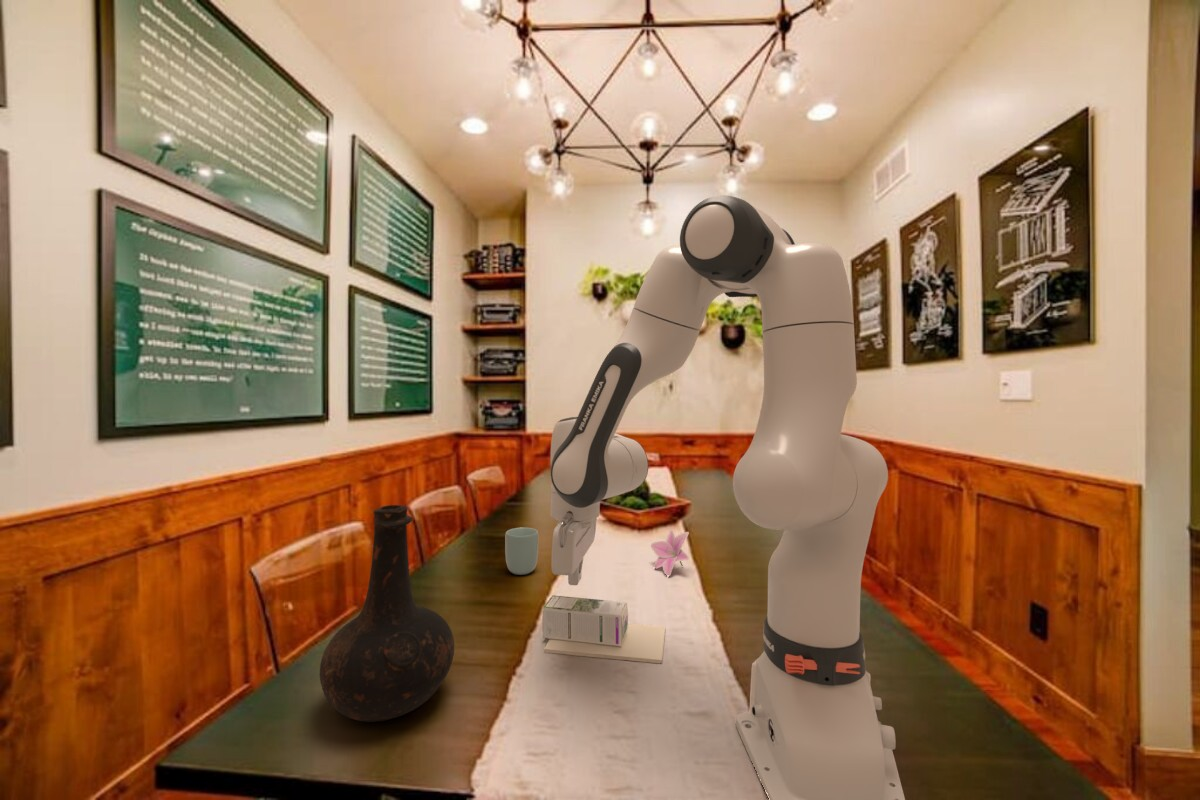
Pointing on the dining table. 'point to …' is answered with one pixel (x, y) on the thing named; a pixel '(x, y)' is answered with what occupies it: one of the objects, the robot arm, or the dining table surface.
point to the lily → (670, 551)
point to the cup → (521, 550)
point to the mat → (636, 646)
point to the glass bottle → (387, 637)
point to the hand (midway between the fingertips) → (574, 582)
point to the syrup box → (585, 620)
